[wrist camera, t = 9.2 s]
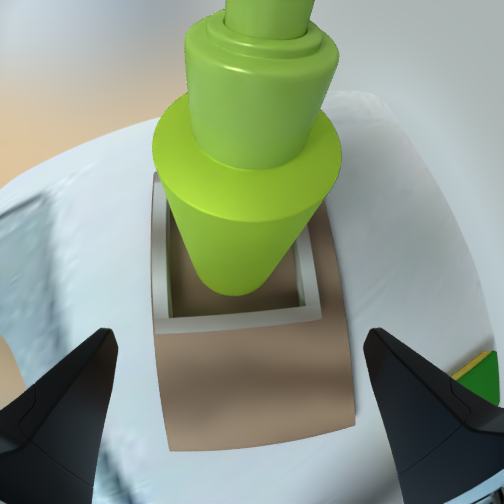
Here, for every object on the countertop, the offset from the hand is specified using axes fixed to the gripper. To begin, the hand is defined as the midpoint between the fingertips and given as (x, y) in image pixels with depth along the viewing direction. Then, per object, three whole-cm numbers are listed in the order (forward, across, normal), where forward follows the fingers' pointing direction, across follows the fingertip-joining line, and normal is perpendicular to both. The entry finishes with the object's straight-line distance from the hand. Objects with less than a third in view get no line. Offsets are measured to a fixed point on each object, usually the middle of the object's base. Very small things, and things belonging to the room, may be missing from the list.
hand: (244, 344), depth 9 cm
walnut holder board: (+10, -1, +6) cm, 12 cm away
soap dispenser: (+12, 0, +3) cm, 12 cm away
